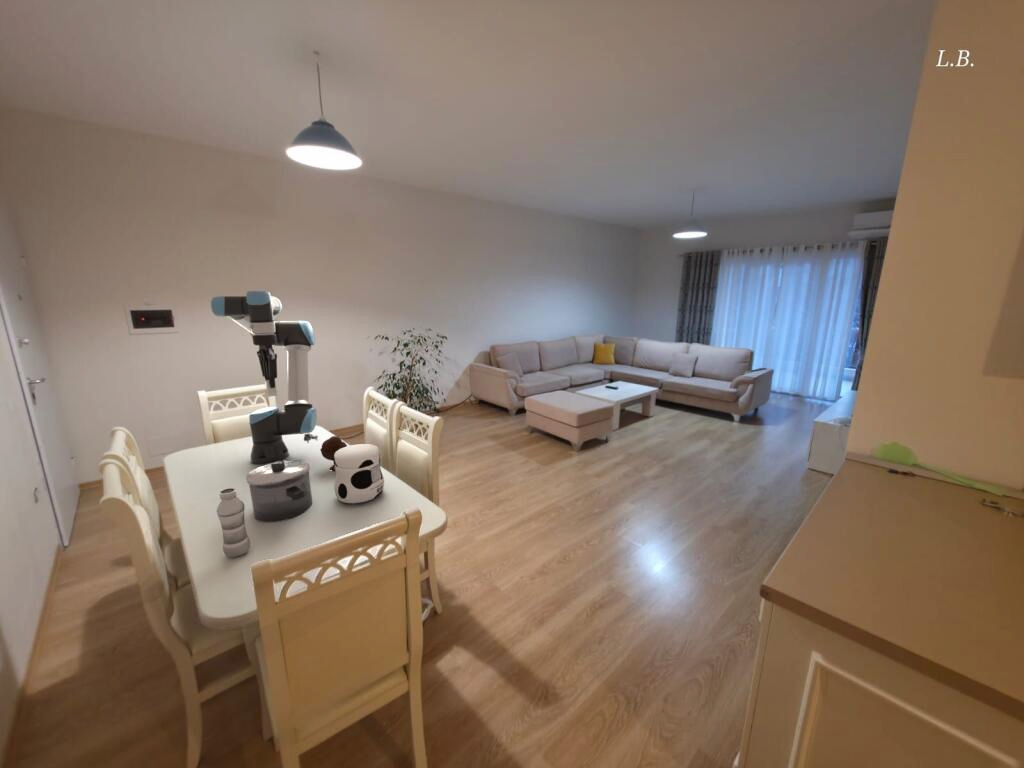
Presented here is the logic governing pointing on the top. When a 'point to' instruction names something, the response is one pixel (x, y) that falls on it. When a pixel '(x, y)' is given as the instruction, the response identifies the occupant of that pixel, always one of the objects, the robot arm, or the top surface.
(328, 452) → the brown miniature tree
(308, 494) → the pot
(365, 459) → the milk container
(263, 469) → the lid
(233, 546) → the plastic bottle
